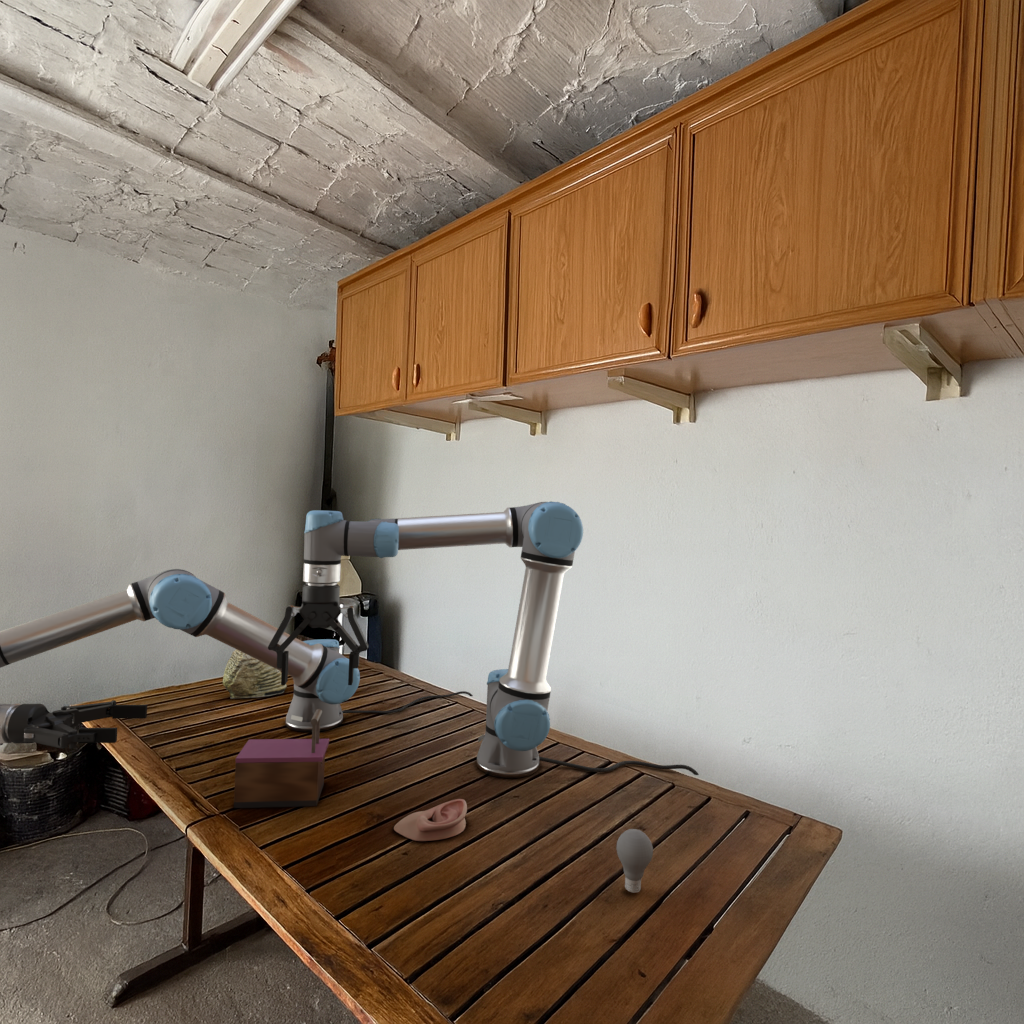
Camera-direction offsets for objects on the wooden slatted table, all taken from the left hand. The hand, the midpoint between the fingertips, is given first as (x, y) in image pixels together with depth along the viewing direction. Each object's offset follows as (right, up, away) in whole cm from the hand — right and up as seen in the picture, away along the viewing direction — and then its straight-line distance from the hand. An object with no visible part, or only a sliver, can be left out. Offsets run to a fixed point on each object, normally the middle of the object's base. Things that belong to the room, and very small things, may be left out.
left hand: (132, 722), depth 129 cm
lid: (+29, -8, +5) cm, 31 cm away
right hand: (+36, +7, +5) cm, 37 cm away
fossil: (-3, -14, +69) cm, 71 cm away
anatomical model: (+62, -19, -6) cm, 65 cm away
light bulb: (+98, -20, -23) cm, 102 cm away
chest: (+29, -17, +5) cm, 34 cm away
